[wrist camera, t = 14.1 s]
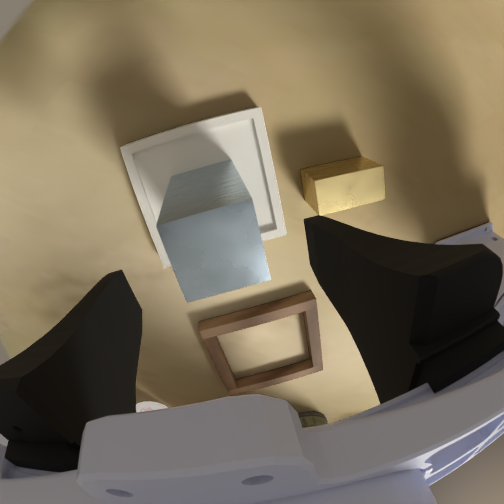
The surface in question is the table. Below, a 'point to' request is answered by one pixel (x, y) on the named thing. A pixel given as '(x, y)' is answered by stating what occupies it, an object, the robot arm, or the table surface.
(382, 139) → the table surface
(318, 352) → the socket
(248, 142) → the tray
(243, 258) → the brushed metal block
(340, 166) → the bar
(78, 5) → the table surface
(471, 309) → the robot arm
